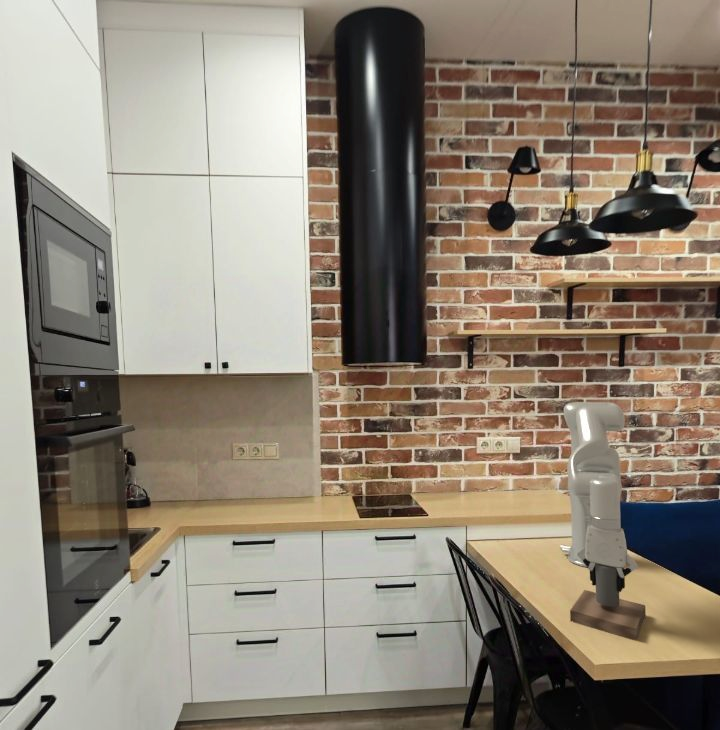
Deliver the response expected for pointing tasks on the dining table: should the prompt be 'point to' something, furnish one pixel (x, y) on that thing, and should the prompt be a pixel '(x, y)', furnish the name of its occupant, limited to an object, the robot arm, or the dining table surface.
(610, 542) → the robot arm
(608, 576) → the bottle
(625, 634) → the base
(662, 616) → the dining table surface
